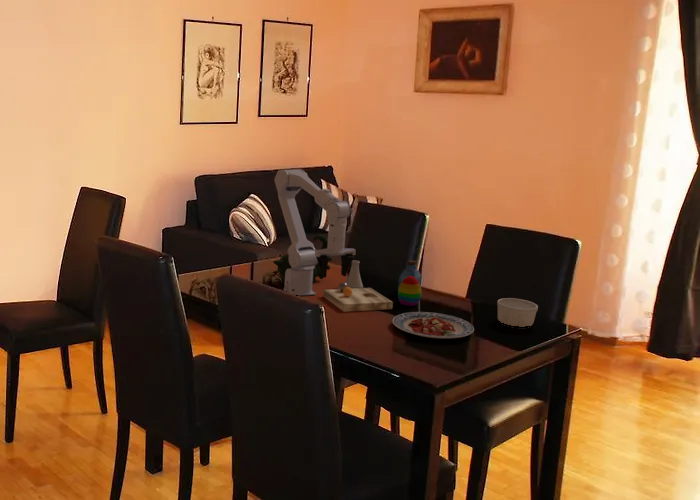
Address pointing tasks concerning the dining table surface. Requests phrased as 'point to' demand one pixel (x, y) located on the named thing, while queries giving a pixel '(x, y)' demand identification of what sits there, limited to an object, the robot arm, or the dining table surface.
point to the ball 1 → (342, 286)
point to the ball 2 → (347, 291)
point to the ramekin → (516, 312)
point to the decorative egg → (409, 291)
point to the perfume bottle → (410, 272)
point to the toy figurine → (284, 265)
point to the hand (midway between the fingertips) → (333, 276)
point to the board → (358, 300)
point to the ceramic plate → (433, 325)
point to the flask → (354, 276)
